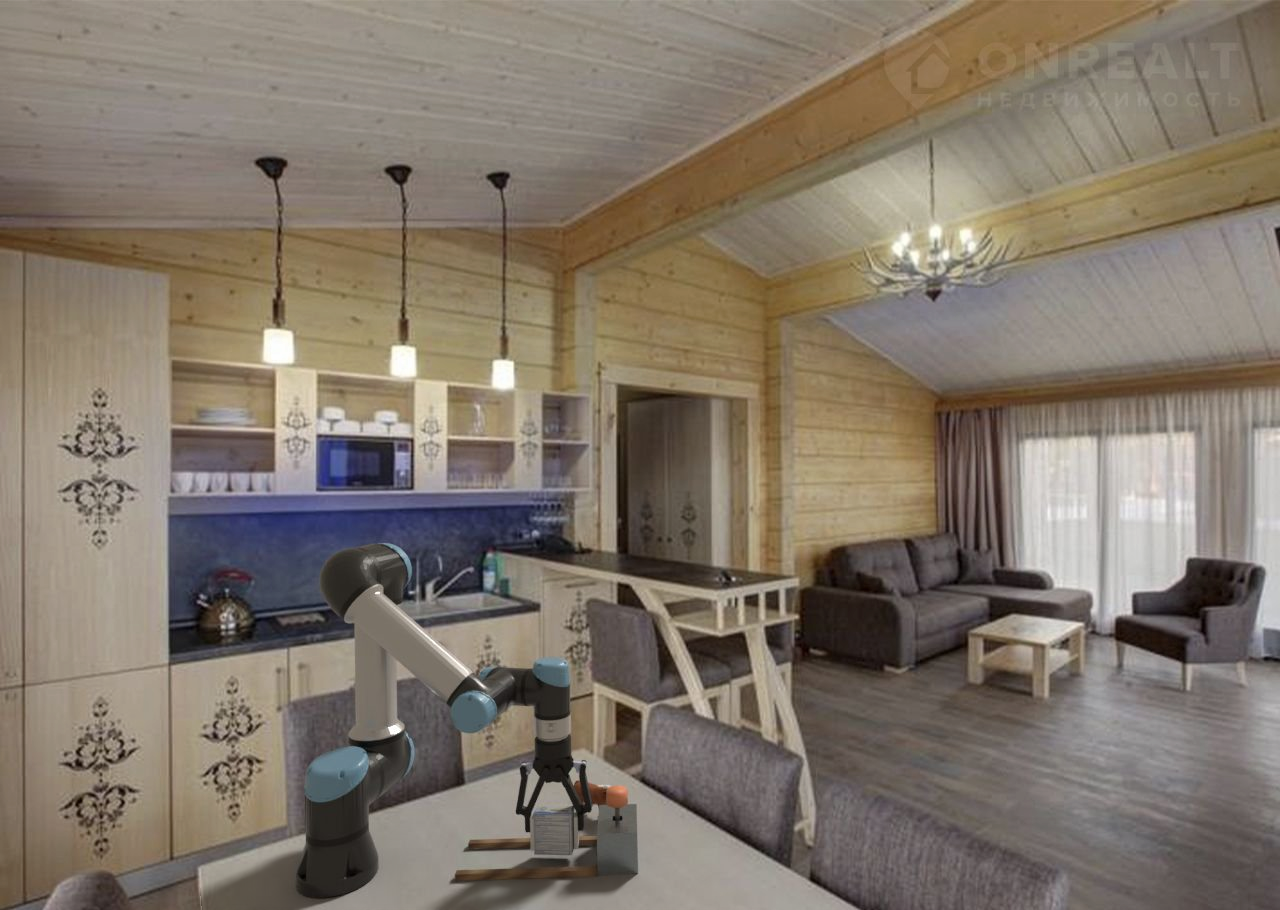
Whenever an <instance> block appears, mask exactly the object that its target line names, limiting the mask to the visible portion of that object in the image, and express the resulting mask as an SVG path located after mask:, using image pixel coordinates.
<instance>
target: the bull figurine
mask: <svg viewBox="0 0 1280 910" xmlns="http://www.w3.org/2000/svg"><path fill="white" fill-rule="evenodd" d="M573 785H574V787H575V790H576V792H577V794H578V796H579V798H580V800H581V802H582V804H584V799H583V794H582V789H581V784H580V779H577V780H576V781H574V784H573ZM588 786H589V790H590V795H591V800H592V807H593V806H596V805H597V807H598V809H599V805H607V801H606V790H607V789H608V788H609V787H612V786H611V785H610V784H596V783H591V782H589V781H588ZM587 816H588V814H587V813H585V814H584V818H585V817H587Z"/></svg>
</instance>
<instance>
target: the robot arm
mask: <svg viewBox="0 0 1280 910" xmlns="http://www.w3.org/2000/svg"><path fill="white" fill-rule="evenodd" d="M412 569H413V567H412V563H411V560H410V558H409V556H408V554H407V553H406V552H405V551H404V550H403V549H402V548H401V547H399V546H398V545H396V544H392V543H388V542H384V543H383V542H380V543H379V542H376V543H369V544H366V545H360V546H355V547H350V548H344V549H341V550H339V551H337V552H335V553H332V555H331V556H329V557H328V558H327V559H326V560H325V562H324V564H323V565H322V567H321V569H320V572H319V577H318V583H319V588H320V589H319V590H320V593H321V596H322V597H323V599H324V601H325V602H326V604H327V605H328V606H329V608H330V609H331V610H332V611H333V612H334V613H335V614H336V615H337V616H338V618H339V617H340V619H341V620H342V621H343V622H344V623H347V624H354V678H355V680H354V682H355V683H354V686H355V688H354V690H355V692H354V693H355V696H354V697H355V700H354V701H355V725H353V727H352V728H350V730H349V731H348V745H347V746H342V747H336V748H334V750H328V751H325V752H324V753H322V754H321V755H319V756H317V757H316V758H314V759H313V760H312V761H311V763H310V764H309V765H308V767H307V768H306V772H305V783H304V784H303V790H304V805H305V807H304V811H305V812H304V813H305V814H304V816H305V818H304V819H305V845H304V847H303V851H302V854H301V857H300V860H299V864H298V867H297V870H296V874H295V876H296V877H295V886H296V890H297V891H298V892H299V893H300V894H301V895H303V896H306V897H309V898H316V899H318V898H319V899H321V898H332V897H337V896H341V895H346V894H347V893H350V892H353V891H355V890H358V889H359V888H361V887H363V886H364V885H366V884H368V883H369V882H370V881H371V880H372V879H374V877H375V876H376V874H377V873H378V871H379V853H378V851H377V847H376V845H375V842H374V840H373V837H372V835H371V832H370V823H369V819H370V816H369V814H370V813H369V811H370V810H369V807H370V805H371V804H373V802H375V801H377V800H378V799H379V798H380V797H381V796H383V795H384V794H385V793H386V792H387V791H389V790H390V789H392V788H393V787H395V786H397V785H398V784H400V782H401V781H402V780H403V779H404V778H405V776H406V775H407V774H408V773H409V771H410V770H411V768H412V766H413V764H414V759H415V755H416V754H415V753H416V752H415V746H414V741H413V739H412V738H411V737H409V733H408V732H407V731H406V730H405V729H406V728H405V724H404V723H403V722H402V721H401V720H400V719H398V688H397V687H398V685H397V683H398V682H397V681H398V680H397V677H398V676H397V674H398V673H397V662H399V663H400V664H401V665H402V666H403V667H404V668H406V670H407V671H409V673H411V674H412V675H413V676H414V677H415V678H416V679H418V680H419V681H420V682H421V683H422V684H423V685H425V686H426V688H428V689H429V690H430V691H431V692H432V693H434V694H435V695H436V696H437V697H438V698H439V699H440V700H441V701H443V702H444V703H445V704H446V705H447V706H448V707H449V708H450V718H451V720H452V723H453V725H454V727H455V728H456V729H457V730H458V731H459V732H461V733H464V734H468V735H470V734H476V733H479V732H480V731H482V730H483V729H485V728H488V727H489V726H490V725H492V724H493V723H494V722H495V720H496V719H497V718H498V717H499V716H500V715H502V714H503V713H505V712H506V711H507V710H508V709H510V708H511V707H512V706H516V707H517V706H518V707H533V716H534V717H533V719H534V720H533V721H534V726H533V727H534V728H533V729H534V730H533V731H534V732H533V733H534V735H535V737H534V759H533V761H531V762H527V761H522V762H521V764H520V767H519V774H520V783H519V789H518V795H517V801H516V806H515V807H516V808H515V814H516V815H517V816H523V817H524V830H525V833H529V835H530V837H529V838H530V843H531V847H530V851H533V852H534V819H533V813H534V811H533V810H534V807H535V806H536V803H537V800H538V798H539V796H540V794H541V791H542V788H543V787H544V784H545V783H546V784H551V783H556V784H557V783H558V784H559V783H561V784H562V787H563V788H564V790H565V791H566V793H567V795H568V796H567V797H568V798H569V800H570V802H571V804H573V806H574V808H575V812H574V850H579V847H580V846H579V836H580V833H579V832H583V831H584V827H585V817H584V814H585V813H586V814H587V813H588V814H589V813H591V812H592V809H593V806H592V800H591V795H590V790H589V786H588V782H589V781H588V777H587V772H586V770H587V760H586V759H582V760H581V761H580V760H579V761H578V760H574V758H573V754H572V736H571V733H572V719H571V718H572V717H571V716H572V713H571V675H570V664H569V663H568V660H566V659H564V657H563V658H562V657H555V656H551V657H542V658H538V659H536V660H535V661H534V662H533V666H532V667H531V668H528V667H527V668H525V667H523V668H522V667H508V666H507V667H506V666H504V667H503V666H498V665H497V666H492V667H491V666H490V667H489V666H488V667H484V668H483V669H482V670H480V673H479V675H478V674H476V672H475V673H474V671H472V670H471V669H470V668H468V666H466V664H464V663H463V662H462V661H461V660H459V659H458V658H457V657H456V656H455V655H454V654H453V653H452V652H451V651H449V650H448V649H447V648H446V647H445V645H443V644H441V643H440V642H439V641H438V640H437V639H436V638H434V637H433V636H432V635H431V634H430V633H429V632H428V631H427V630H426V629H424V628H423V627H422V626H421V625H419V623H418V622H416V621H415V620H414V618H412V617H411V616H409V615H408V614H407V613H406V612H405V611H404V610H403V609H401V606H402V605H403V603H404V591H403V589H405V588H406V587H407V586H408V584H409V583H410V581H411V577H412V573H413V570H412ZM573 768H574V769H575V772H576V773H577V774H578V780H580V784H581V789H582V794H583V799H584V804H582V802H581V800H580V798H579V796H578V794H577V792H576V790H575V787H574V784H573V782H572V781H573V780H572V779H571V775H570V772H571V771H572V770H573ZM532 770H534V771H535V772H536V774H537V776H538V780H537V782H536V785H535V787H534V789H533V792H532V794H531V796H530V797H529V798H530V799H529V801H528V803H527V806H526V805H524V804H525V798H526V792H527V786H528V780H529V776H530V774H531V773H532Z"/></svg>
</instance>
